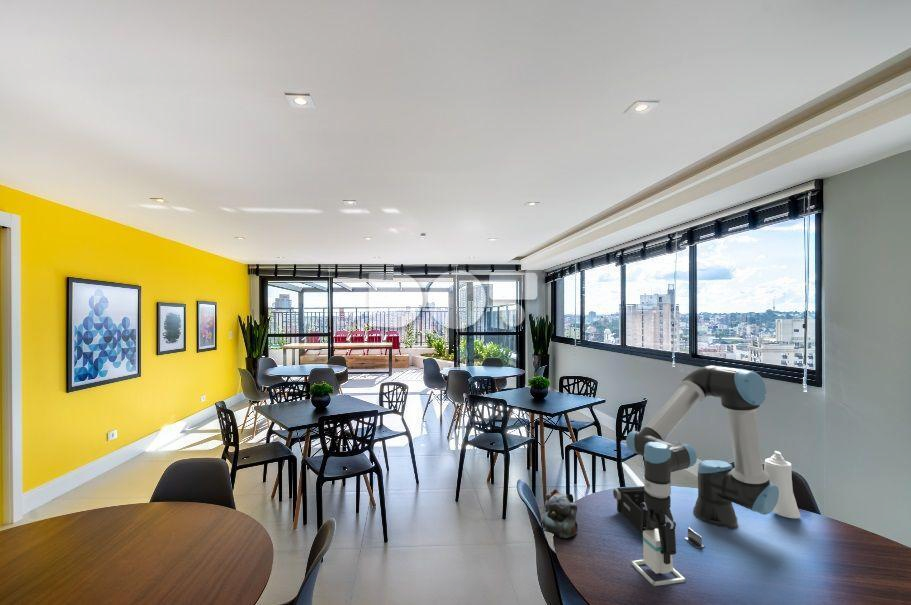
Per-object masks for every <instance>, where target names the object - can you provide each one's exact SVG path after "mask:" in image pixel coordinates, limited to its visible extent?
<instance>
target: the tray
mask: <svg viewBox="0 0 911 605" xmlns="http://www.w3.org/2000/svg"><path fill="white" fill-rule="evenodd" d="M630 562H631V563H630V564H631V566H632V567H633V568H635V570H637V572H639V573H640V575H641V576H643V577H644V578H645V579H646V580H647V581H648V582H649V583H650V584H651V585H652V586H653V587H656V586H663V585H664V586H665V585H670V584H671V585H672V584H678V583H680V584H681V583H686V578H685V577H684V576H683V575H682V574H680V572H679V571H678V570H676V569H675V568H674V567H673V571H670V572H671V573H672V572H673V573H672V574H674V575H675V576H676V578H670V579H663V580H658V581H655V580H653V579H652V578H651V577H650V576H649V575H648V574H647V573H646V572H645V571H644V570H643V569H642V568H641V567H640V566H641V565H642V566H643V565H646V564H645V563H644V562H643V559H637V560H631V561H630Z"/></svg>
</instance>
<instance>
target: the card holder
mask: <svg viewBox="0 0 911 605" xmlns="http://www.w3.org/2000/svg"><path fill="white" fill-rule="evenodd" d="M702 539H703V537H702V536H701V535H700V534H699V533H697V532H695V531H694V530H693V529H692V528H690V527H687V537H684V540H686V541H687V542H688V543H690V544H691V545H693V547H695V548H696V549H704V548H706V546H705V545H704V544H703V540H702Z"/></svg>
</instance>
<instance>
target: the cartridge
mask: <svg viewBox="0 0 911 605" xmlns="http://www.w3.org/2000/svg"><path fill="white" fill-rule="evenodd" d="M642 550H643V551H642V553H643V554H642V556H643V557H642V558H643V562H644V563H645V564H644V565H646V566H647V567H648V568H649V569H650V570H651V571H652V572H653V573H655V574H656V575H657V574H661V573H660V551H662V547H661V541H660V537H659V531H658V529H654V530H645V531H643V534H642ZM673 557H674V555H670V572H671V571H673V568H674V565H673V564H674V558H673Z"/></svg>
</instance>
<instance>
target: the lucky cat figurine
mask: <svg viewBox="0 0 911 605" xmlns="http://www.w3.org/2000/svg"><path fill="white" fill-rule="evenodd" d="M545 498H546V500H545V502H544V508H545V511H544V512H545V513H543V515H541V518H540V523H541V524H542V528H543V531H544V532H547V533H549V534H550V533H551V534H552V535H555V536H556V537H559V538H561V539H567V538H571V537H573V536H575V535H576V534H577V532H579V529H578V527H579V526H578V522H577V519H576V518H577V512H578V505H577V503H575V502H574V500H575V499H574V496H573V494H572V493H570V494H565V493H560V492H559V490H558V489H557V488H554V490H552V492H548V493H545Z"/></svg>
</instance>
